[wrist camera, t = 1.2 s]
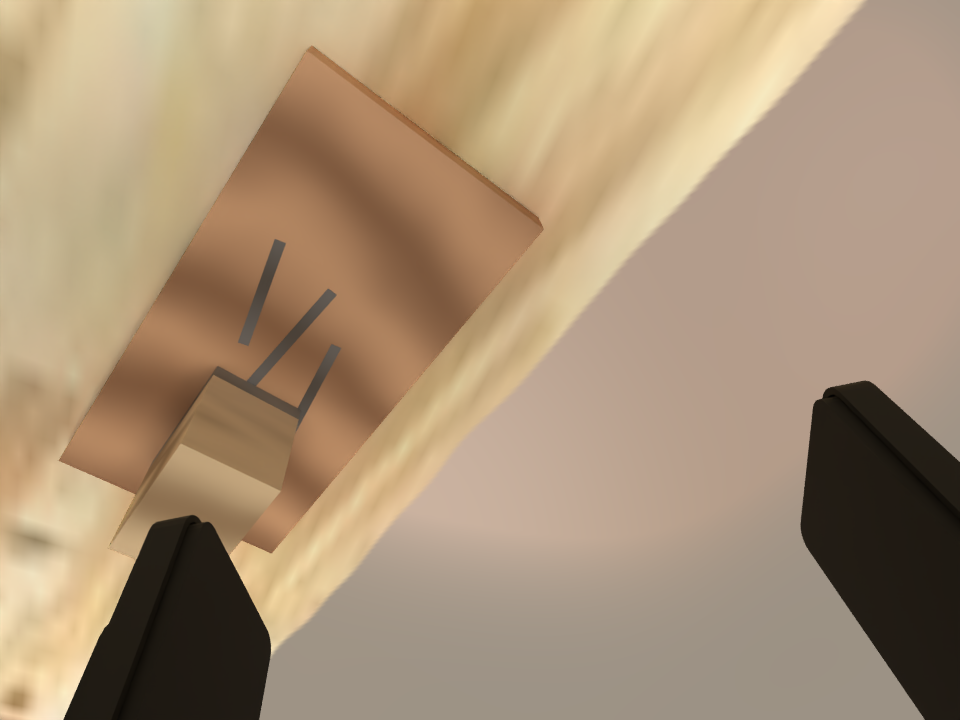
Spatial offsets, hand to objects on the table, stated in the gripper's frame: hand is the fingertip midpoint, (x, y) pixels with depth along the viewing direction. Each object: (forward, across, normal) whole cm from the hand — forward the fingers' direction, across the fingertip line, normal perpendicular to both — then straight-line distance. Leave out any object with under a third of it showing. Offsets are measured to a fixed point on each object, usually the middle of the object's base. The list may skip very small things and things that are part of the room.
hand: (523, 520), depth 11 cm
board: (+23, +9, +7) cm, 26 cm away
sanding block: (+21, +14, +11) cm, 28 cm away
